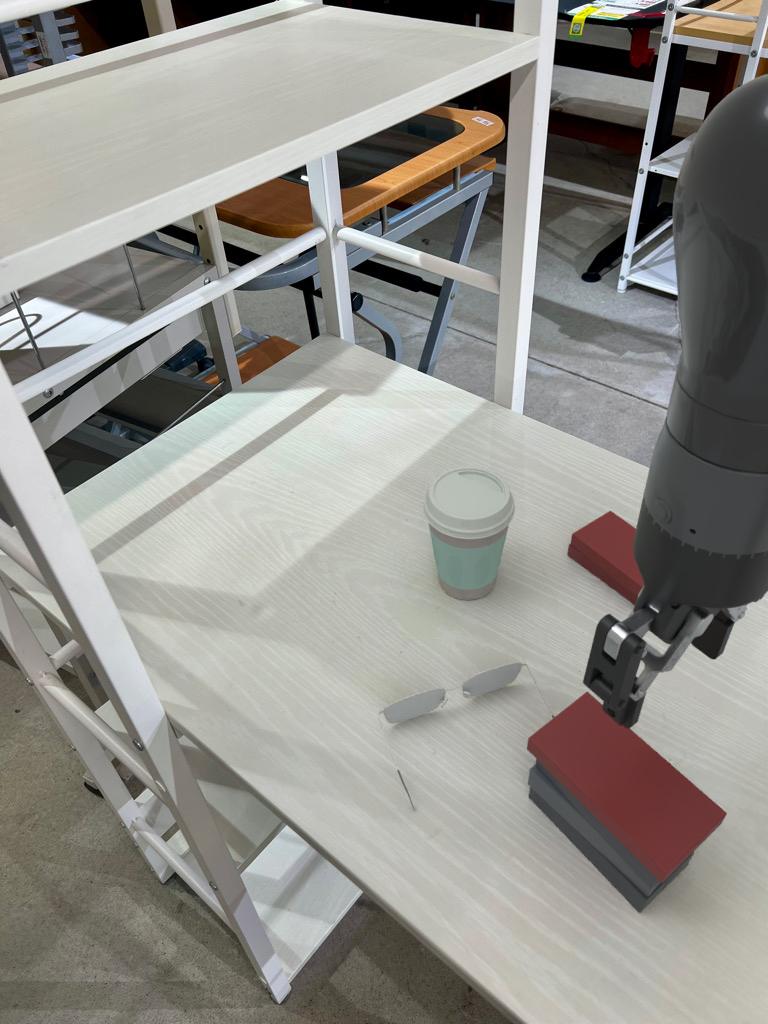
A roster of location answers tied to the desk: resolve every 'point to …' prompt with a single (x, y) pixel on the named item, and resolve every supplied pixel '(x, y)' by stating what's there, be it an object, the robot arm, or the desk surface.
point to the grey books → (596, 840)
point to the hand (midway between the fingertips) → (663, 681)
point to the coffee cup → (468, 528)
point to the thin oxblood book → (626, 785)
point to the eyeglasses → (434, 697)
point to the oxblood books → (609, 554)
